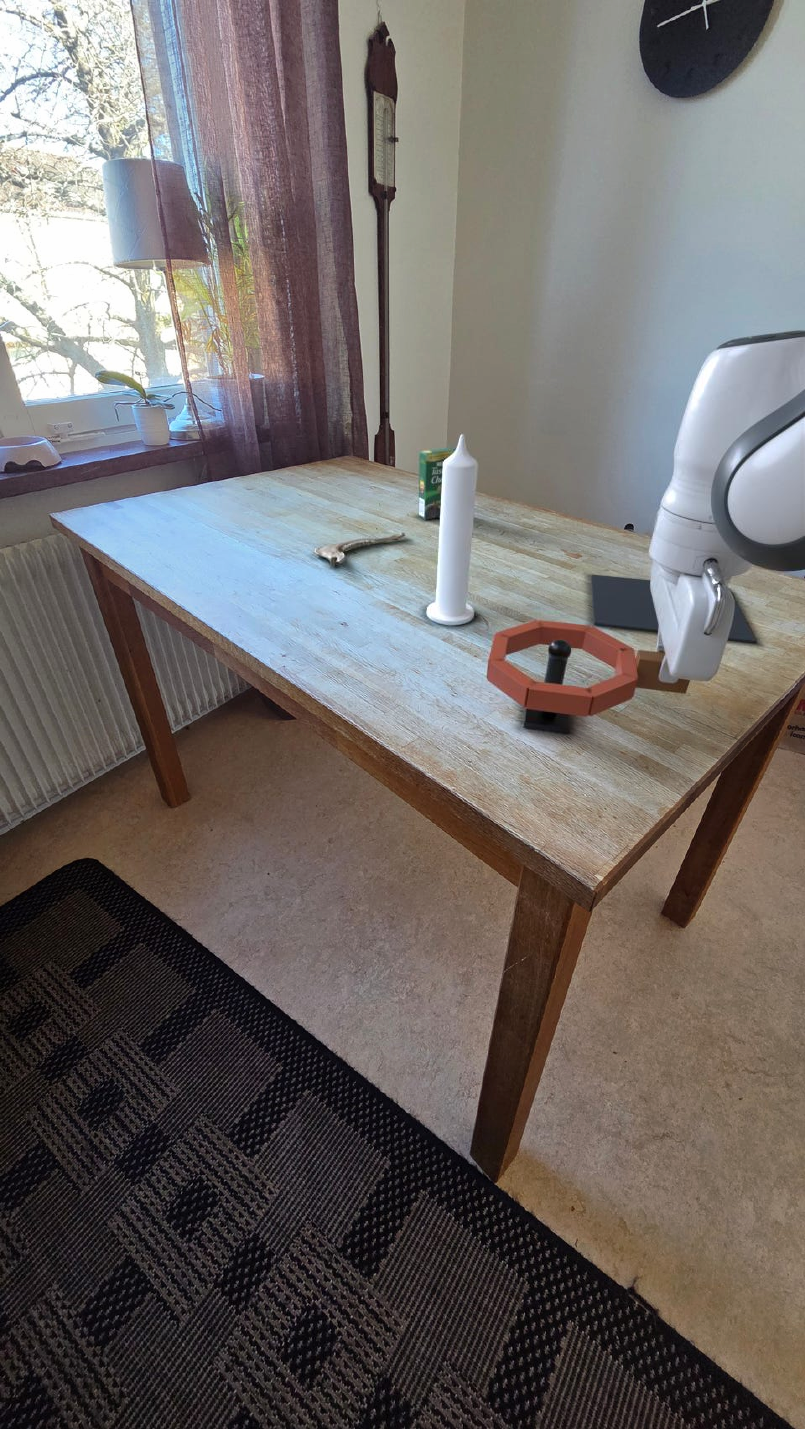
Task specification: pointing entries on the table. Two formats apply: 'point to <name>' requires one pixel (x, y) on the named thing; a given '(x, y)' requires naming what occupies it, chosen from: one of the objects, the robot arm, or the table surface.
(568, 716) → the peg stand
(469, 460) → the candle
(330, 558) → the jawbone
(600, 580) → the mat
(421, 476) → the coffee box
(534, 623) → the hoop
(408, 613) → the table surface
